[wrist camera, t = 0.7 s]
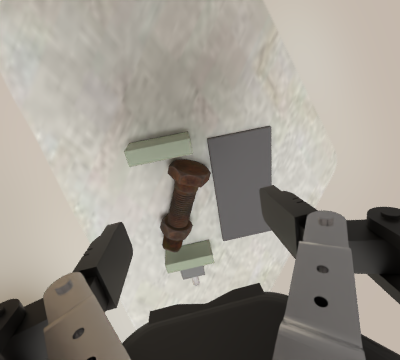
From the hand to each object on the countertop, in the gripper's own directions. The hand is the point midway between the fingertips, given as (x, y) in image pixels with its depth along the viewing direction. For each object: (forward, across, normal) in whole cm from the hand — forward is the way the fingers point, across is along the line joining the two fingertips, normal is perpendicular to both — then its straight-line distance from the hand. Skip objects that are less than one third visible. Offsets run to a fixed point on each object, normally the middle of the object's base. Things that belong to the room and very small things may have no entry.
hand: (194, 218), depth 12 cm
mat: (+19, -8, +8) cm, 23 cm away
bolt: (+20, +3, +8) cm, 22 cm away
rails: (+20, +3, +11) cm, 23 cm away
